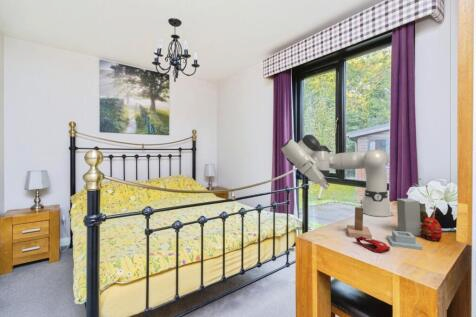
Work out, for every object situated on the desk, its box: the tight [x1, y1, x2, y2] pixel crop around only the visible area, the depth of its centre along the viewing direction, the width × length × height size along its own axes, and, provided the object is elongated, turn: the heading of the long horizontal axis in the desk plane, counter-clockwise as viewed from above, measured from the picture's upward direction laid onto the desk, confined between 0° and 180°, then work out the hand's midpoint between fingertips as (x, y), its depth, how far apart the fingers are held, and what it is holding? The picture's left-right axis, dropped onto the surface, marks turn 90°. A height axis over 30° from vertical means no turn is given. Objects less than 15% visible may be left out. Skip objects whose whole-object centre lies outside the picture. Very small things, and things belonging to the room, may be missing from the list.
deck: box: [346, 224, 373, 240], centre depth 111 cm, size 12×9×2 cm
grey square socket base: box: [386, 229, 423, 251], centre depth 100 cm, size 10×10×4 cm
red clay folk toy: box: [420, 204, 443, 242], centre depth 105 cm, size 8×7×15 cm
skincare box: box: [396, 198, 422, 237], centre depth 113 cm, size 8×7×16 cm
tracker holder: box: [354, 236, 391, 254], centre depth 95 cm, size 12×4×10 cm
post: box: [354, 206, 364, 231], centre depth 111 cm, size 3×3×10 cm
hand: (327, 187), depth 116 cm, fingers open, 8 cm apart
